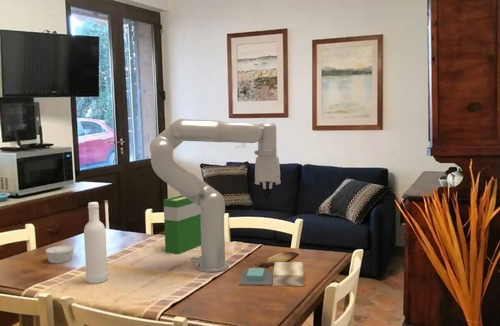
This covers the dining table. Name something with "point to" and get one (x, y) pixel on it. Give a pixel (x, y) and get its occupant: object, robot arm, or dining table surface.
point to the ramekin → (59, 254)
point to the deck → (288, 274)
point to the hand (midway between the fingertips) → (267, 198)
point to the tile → (255, 274)
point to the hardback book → (181, 225)
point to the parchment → (278, 259)
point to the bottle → (95, 247)
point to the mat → (266, 281)
